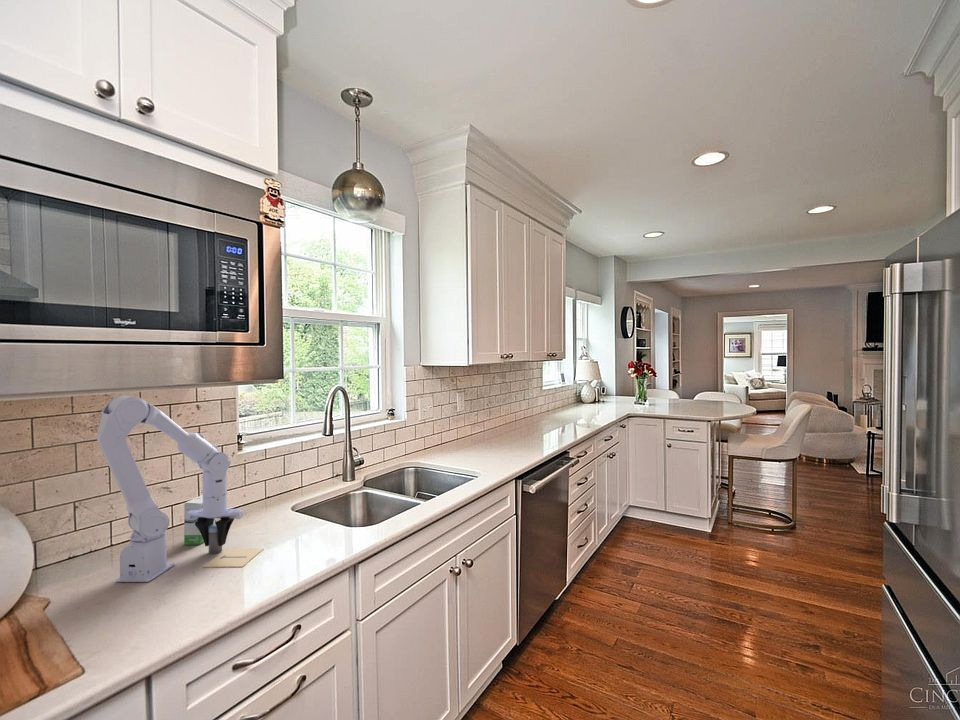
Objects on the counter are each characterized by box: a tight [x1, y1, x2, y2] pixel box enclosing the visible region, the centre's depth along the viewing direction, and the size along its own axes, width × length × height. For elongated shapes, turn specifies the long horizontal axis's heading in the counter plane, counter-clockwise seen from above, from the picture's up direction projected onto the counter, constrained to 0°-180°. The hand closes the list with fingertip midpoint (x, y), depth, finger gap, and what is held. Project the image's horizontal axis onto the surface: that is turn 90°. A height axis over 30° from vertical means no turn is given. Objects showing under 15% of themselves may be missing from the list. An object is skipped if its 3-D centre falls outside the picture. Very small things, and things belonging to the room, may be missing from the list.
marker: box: [208, 524, 223, 555], centre depth 127 cm, size 3×3×7 cm
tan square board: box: [202, 548, 264, 568], centre depth 123 cm, size 11×10×1 cm
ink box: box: [183, 494, 218, 546], centre depth 136 cm, size 9×5×12 cm, turn 179°
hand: (215, 544), depth 127 cm, fingers closed on marker, 3 cm apart
